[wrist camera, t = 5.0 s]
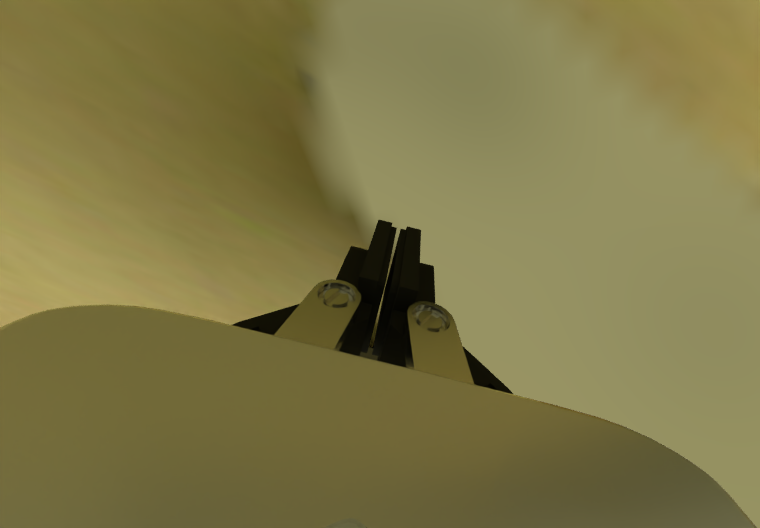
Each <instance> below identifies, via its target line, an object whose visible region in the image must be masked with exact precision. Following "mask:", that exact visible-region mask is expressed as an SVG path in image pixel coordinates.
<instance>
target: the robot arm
mask: <svg viewBox="0 0 760 528" xmlns="http://www.w3.org/2000/svg"><path fill="white" fill-rule="evenodd" d="M391 226H392V223H390V222H386V221H382V220H378V223H377V226H376V229H375V232H374V235H373V238H372V241H371V244H370V246H369V249H368V250H365V249H361V248H357V247H353V246H351V248H350V250H349V252H348V254H347V256H346V258H345V261H344V263H343V265H342V267H341V269H340V272H339V274H338V276H337V278H336V280H326V281H323V282H320V283H318V284H317V285H316V286H315V287H314V288H313V289H312V290H311V291H310V293H309V294H308V295H307V296H306V297H305V299H304V300H303V301H302V302H301V303H300V304H298V305H294V306H291V307H288V308H284V309H281V310H278V311H274V312H271V313H268V314H264V315H261V316H258V317H254V318H251V319H248V320H244V321H241V322H238V323H235V324H233V325H229V324H225V323H220V322H216V321H212V320H208V319H204V318H199V317H194V316H189V315H184V314H180V313H175V312H170V311H165V310H160V309H153V308H146V307H139V306H125V305H83V306H71V307H63V308H56V309H50V310H46V311H42V312H39V313H35V314H32V315H29V316H27V317H24V318H22V319H19V320H17V321H14V322H12V323H10V324H7V325H5V326H3V327H1V328H0V528H757V527H756V526H755V525H754V524H753V522H752V521H751V520H750V519H749V518H748V516H747V515H746V514H745V513H744V512H743V511H742V509H741V508H740V507H739V506H738V505H737V503H736V502H735V501H734V500H733V499H732V497H731V496H730V495H729V494H728V493H727V492H726V491H725V490H724V489H723V488H722V487H721V486H720V485H719V484H718V483H717V482H716V481H715V480H714V479H713V478H712V477H711V476H709V475H708V474H707V473H706V472H704V471H703V470H702V469H700V468H699V467H697V466H696V465H695V464H693V463H692V462H690V461H689V460H687V459H685V458H684V457H683V456H681V455H680V454H678V453H676V452H675V451H673V450H671V449H669V448H667V447H666V446H664V445H662V444H660V443H658V442H657V441H655V440H653V439H651V438H649V437H647V436H644V435H642V434H640V433H638V432H635V431H633V430H631V429H628V428H627V427H624V426H622V425H619V424H616V423H613V422H610V421H608V420H605V419H602V418H599V417H596V416H592V415H589V414H585V413H582V412H578V411H574V410H571V409H568V408H564V407H560V406H557V405H553V404H549V403H545V402H541V401H537V400H533V399H530V398H525V397H521V396H518V395H514V394H513V393H512V392H511V391H510V390H509V389H508V388H507V387H506V386H505V385H504V384H503V383H502V382H501V381H500V380H499V379H497V378H496V377H495V376H494V375H493V374H492V373H491V372H490V371H489V370H488V369H487V368H486V367H485V366H483V365H482V364H481V363H480V362H479V361H478V360H477V359H476V358H475V357H474V356H473V355H471V353H469V352H468V351H467V350H466V349H465V348H464V347H463V346H462V343H461V340H460V337H459V334H458V330H457V327H456V324H455V321H454V319H453V317H452V315H451V314H450V313H449V312H448V311H447V310H446V309H444V308H443V307H441V306H439V305H437V304H435V286H434V266H431V265H427V264H423V263H420V240H421V230H419V229H415V228H411V227H407V228H406V230H404V229H401V230H400V234H399V238H398V241H397V245H396V249H395V253H394V256H393V260H392V264H391V268H390V272H389V275H388V279H387V283H386V278H387V273H388V268H389V263H390V258H391V253H392V248H393V244H394V239H395V234H396V229H397V228H395V227H391ZM385 283H386V287H385ZM384 287H385V291H384ZM383 291H384V296H383V301H382V306H381V311H380V316H379V321H378V326H377V331H376V336H375V341H374V346H373V351H372V355H375V356H378V357H377V360H373V359H369V358H365V357H361V356H360V353H361V352H363V353H367V351H368V348H369V344H370V340H371V336H372V333H373V329H374V325H375V321H376V317H377V314H378V310H379V306H380V302H381V298H382V295H383Z"/></svg>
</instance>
